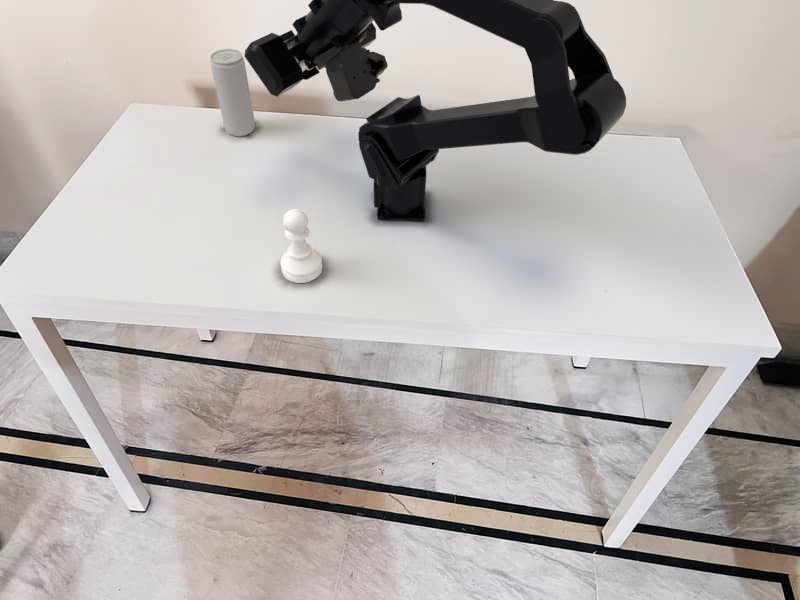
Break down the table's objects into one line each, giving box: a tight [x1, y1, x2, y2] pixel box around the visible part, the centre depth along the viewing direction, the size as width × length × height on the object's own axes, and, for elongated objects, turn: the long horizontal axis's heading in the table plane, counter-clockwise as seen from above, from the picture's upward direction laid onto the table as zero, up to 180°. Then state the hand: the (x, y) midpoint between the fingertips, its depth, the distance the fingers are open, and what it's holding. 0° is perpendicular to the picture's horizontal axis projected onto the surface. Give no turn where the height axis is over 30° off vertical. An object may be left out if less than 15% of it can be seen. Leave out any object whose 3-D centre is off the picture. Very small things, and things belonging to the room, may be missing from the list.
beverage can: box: [209, 48, 256, 137], centre depth 92 cm, size 5×5×12 cm
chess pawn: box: [280, 208, 324, 284], centre depth 72 cm, size 5×5×9 cm
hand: (286, 74), depth 82 cm, fingers closed
